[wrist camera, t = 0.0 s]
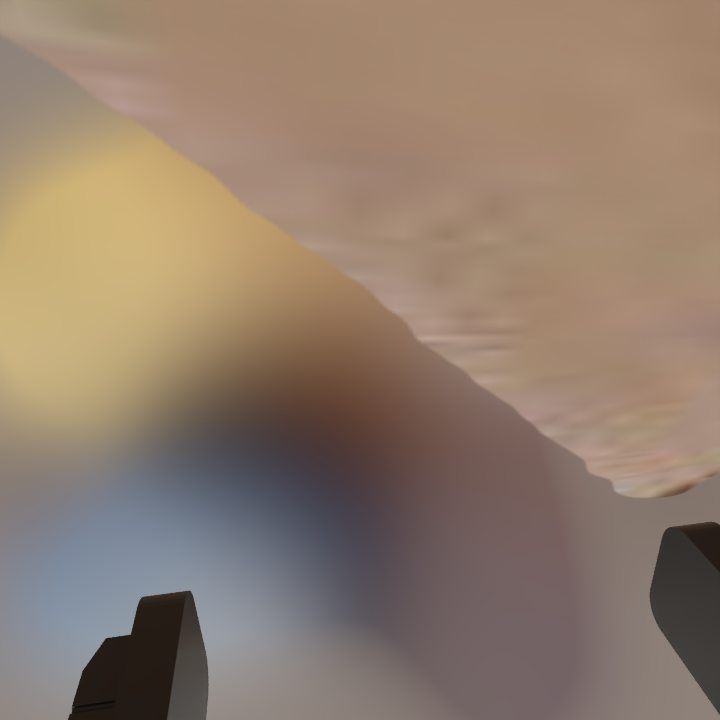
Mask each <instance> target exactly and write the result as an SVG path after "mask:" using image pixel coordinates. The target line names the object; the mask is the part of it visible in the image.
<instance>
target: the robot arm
mask: <svg viewBox="0 0 720 720" xmlns="http://www.w3.org/2000/svg"><path fill="white" fill-rule="evenodd" d="M650 603H651V608H652V612H653V615H654V618H655V620H656V622H657V624H658V626H659V628H660V629H661V631H662V632H663V634H664V635H665V637H666V638H667V640H668V641H669V642H670V644H671V645H672V647H673V648H674V650H675V651H676V653H677V654H678V655H679V657H680V658H681V660H682V661H683V663H684V664H685V665H686V667H687V668H688V670H689V671H690V673H691V674H692V675H693V677H694V678H695V680H696V681H697V683H698V684H699V686H700V687H701V688H702V690H703V691H704V693H705V694H706V696H707V697H708V699H709V700H710V701H711V703H712V704H713V706H714V707H715V709H716V710H717V711H718V713H719V714H720V525H719V524H717V523H715V522H705V523H698V524H691V525H684V526H676V527H670V528H668V529H666V530H665V532H664V534H663V537H662V541H661V545H660V550H659V554H658V559H657V563H656V567H655V571H654V575H653V580H652V584H651V589H650ZM207 700H208V666H207V657H206V651H205V647H204V642H203V638H202V634H201V629H200V625H199V621H198V616H197V611H196V607H195V602H194V598H193V595H192V593H191V591H183V592H176V593H169V594H161V595H154V596H146V597H142V598H141V599H140V601H139V604H138V607H137V611H136V615H135V620H134V624H133V628H132V632H131V635H126V636H119V637H112V638H106V639H105V641H104V642H103V643H102V645H101V646H100V648H99V649H98V650H97V652H96V653H95V655H94V656H93V657H92V659H91V660H90V662H89V663H88V664H87V666H86V667H85V668H84V670H83V672H82V676H81V679H80V682H79V685H78V688H77V692H76V695H75V698H74V702H73V705H72V714H70V715H69V718H68V720H206V712H207Z"/></svg>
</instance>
